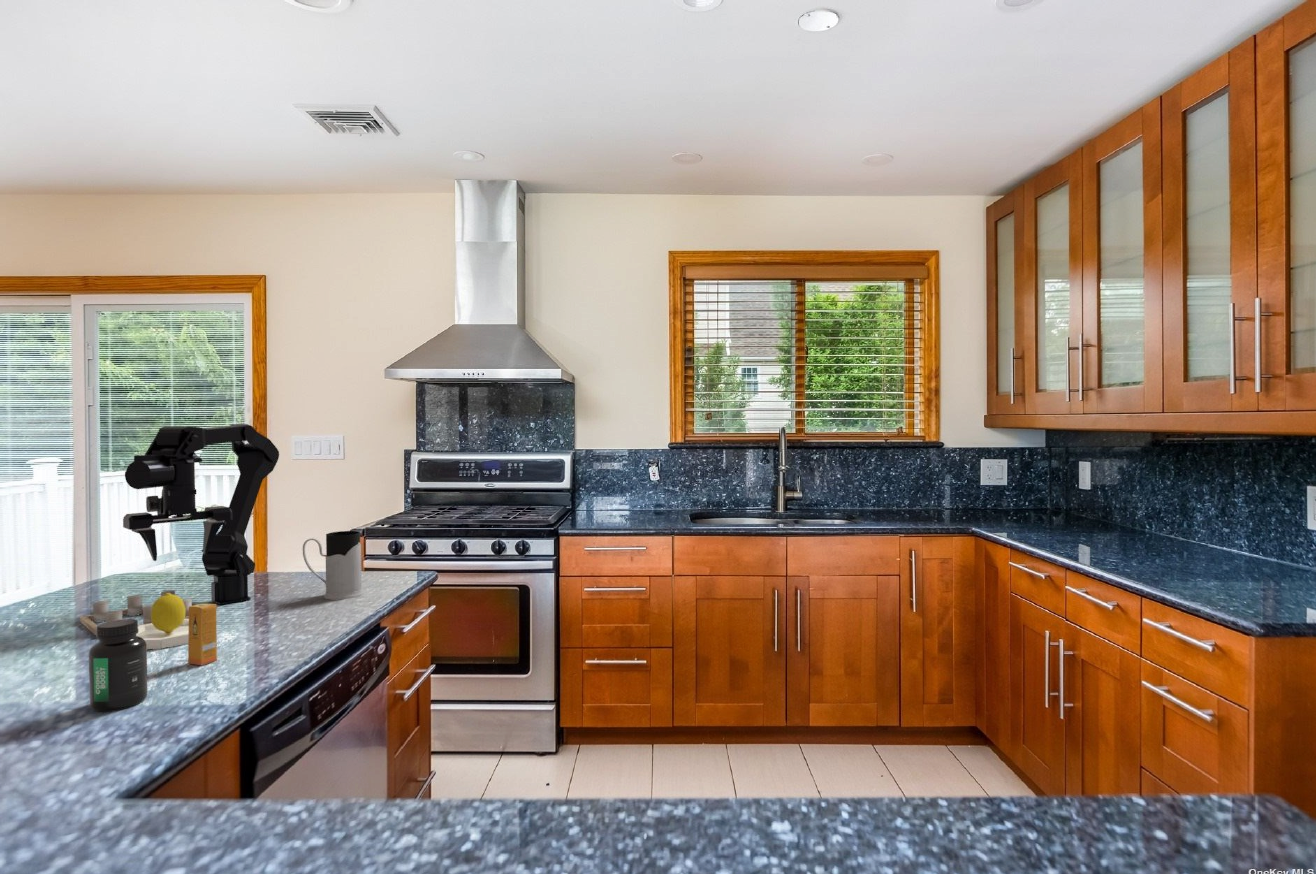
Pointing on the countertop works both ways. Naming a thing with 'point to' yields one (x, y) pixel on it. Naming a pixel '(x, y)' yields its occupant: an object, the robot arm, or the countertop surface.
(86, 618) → the spacer field
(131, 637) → the supplement bottle
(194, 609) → the supplement box
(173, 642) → the dish
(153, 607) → the lemon
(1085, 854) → the countertop surface
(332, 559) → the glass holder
